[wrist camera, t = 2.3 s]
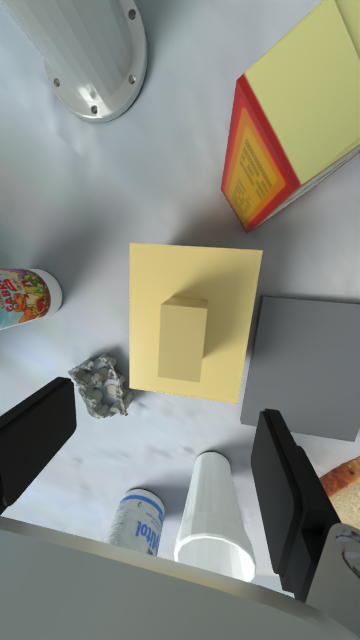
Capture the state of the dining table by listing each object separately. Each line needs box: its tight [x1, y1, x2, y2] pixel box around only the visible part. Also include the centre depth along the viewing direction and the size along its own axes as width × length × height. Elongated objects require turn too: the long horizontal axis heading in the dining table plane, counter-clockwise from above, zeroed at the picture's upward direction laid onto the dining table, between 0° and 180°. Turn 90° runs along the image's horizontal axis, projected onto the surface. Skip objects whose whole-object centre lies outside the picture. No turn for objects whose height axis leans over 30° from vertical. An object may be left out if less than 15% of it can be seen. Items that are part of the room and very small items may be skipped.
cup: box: [174, 452, 256, 582], centre depth 31 cm, size 10×10×13 cm
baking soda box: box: [221, 0, 360, 233], centre depth 17 cm, size 10×6×16 cm
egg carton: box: [68, 354, 133, 418], centre depth 34 cm, size 11×8×4 cm
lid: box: [130, 243, 263, 404], centre depth 22 cm, size 18×14×8 cm
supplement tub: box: [104, 489, 165, 557], centre depth 35 cm, size 10×10×15 cm
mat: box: [240, 296, 360, 442], centre depth 29 cm, size 21×17×1 cm
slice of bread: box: [319, 456, 360, 530], centre depth 34 cm, size 18×18×4 cm
